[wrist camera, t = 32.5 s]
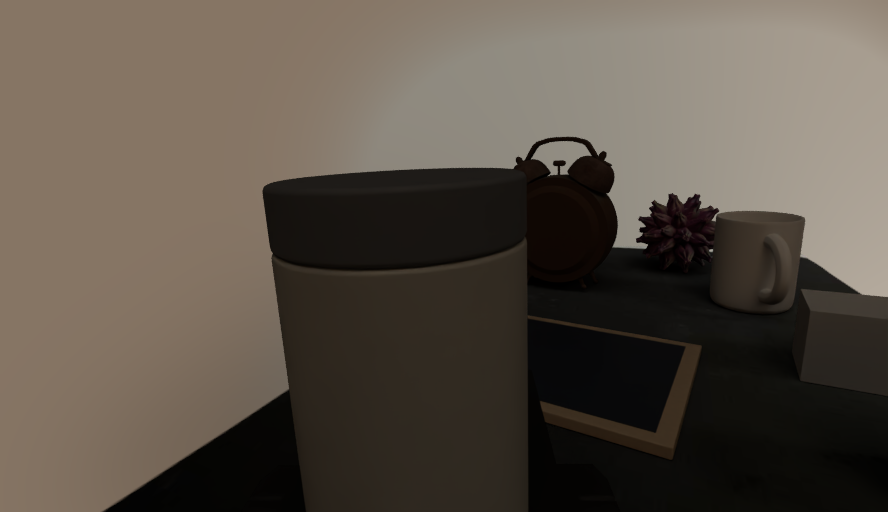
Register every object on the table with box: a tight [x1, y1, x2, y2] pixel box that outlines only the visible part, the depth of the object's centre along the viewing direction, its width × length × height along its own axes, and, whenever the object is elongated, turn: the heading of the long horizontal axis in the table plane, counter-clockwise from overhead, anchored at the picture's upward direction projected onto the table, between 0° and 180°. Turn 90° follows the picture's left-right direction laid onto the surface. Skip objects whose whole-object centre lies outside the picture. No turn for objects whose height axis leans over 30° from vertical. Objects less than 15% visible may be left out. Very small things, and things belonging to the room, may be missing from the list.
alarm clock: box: [514, 137, 618, 289], centre depth 63 cm, size 14×7×20 cm, turn 57°
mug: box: [710, 211, 805, 314], centre depth 52 cm, size 12×8×10 cm
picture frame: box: [527, 316, 702, 460], centre depth 42 cm, size 24×17×1 cm
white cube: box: [792, 289, 888, 396], centre depth 38 cm, size 6×6×6 cm
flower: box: [636, 193, 719, 273], centre depth 68 cm, size 12×12×12 cm
